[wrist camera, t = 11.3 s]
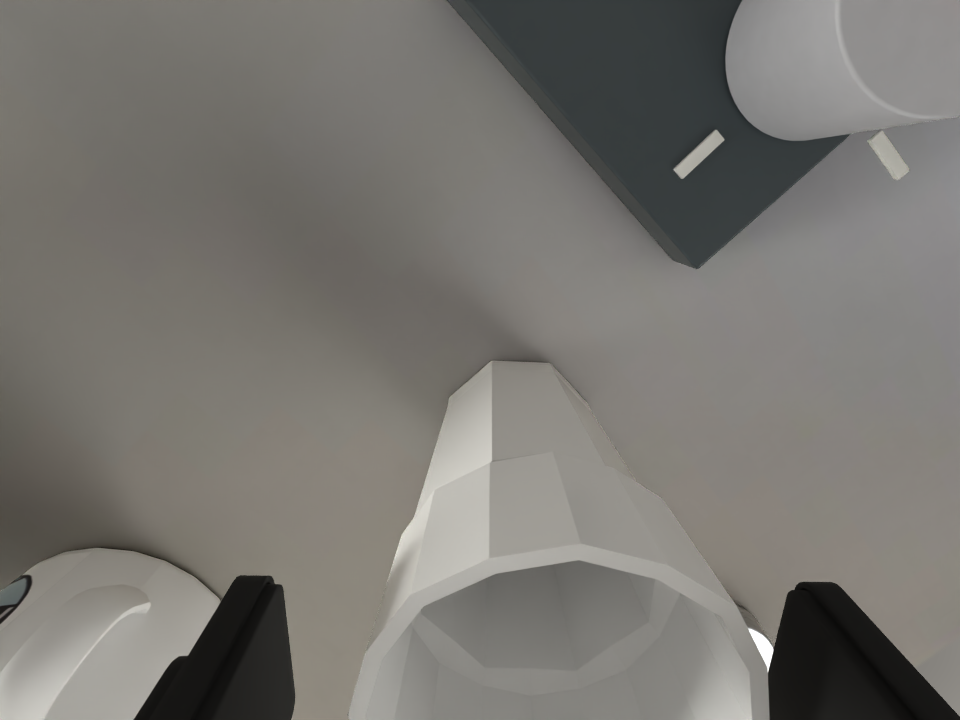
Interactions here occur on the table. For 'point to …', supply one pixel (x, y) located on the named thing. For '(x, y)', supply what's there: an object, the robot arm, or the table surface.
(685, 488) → the table surface
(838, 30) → the tap knob
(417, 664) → the cup
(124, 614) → the mug
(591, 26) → the dial base plate
